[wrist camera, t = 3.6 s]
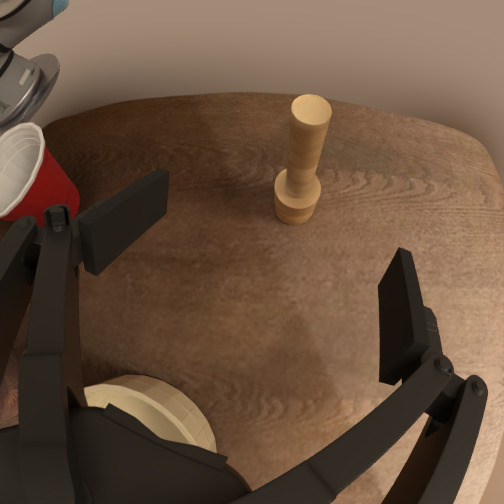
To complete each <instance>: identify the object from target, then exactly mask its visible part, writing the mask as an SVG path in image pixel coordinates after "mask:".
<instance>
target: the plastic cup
mask: <svg viewBox="0 0 504 504" xmlns="http://www.w3.org/2000/svg"><path fill="white" fill-rule="evenodd" d="M55 204H65V205H67V206H69V208H70V215H71V219H73V218H74V217H75V215H76V214H77V212H78V208H79V205H80V195H79V192H78V190H77V188H76V186H75V185H74V184H73V183H72V181H71V180H70V179H69V178H68V177H67V174H66V173H65V172H64V171H63V169H62V168H61V167H60V165H59V164H58V163H57V162H56V160H55V159H54V158H53V156H52V155H51V154H50V152H49V151H48V148H47V147H46V145H45V141H44V137H43V134H42V130H41V128H40V127H38V126H37V125H35V124H34V123H32V122H30V123H21V124H18V125H16V126H15V127H13V128H11V129H9V130H8V131H6V132H5V133H4V134H3V135H2V136H1V137H0V220H8V221H16V220H17V219H19V218H20V217H22V216H33V217H35V218H36V222H37V226H45V222H44V216H43V212H44V210H45V209H46V208H48V207H49V206H52V205H55Z"/></svg>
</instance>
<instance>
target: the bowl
mask: <svg viewBox="0 0 504 504" xmlns="http://www.w3.org/2000/svg"><path fill="white" fill-rule="evenodd" d="M84 392H85V397H86V400H87V403H88V406H96V407H102V408H106V406H107V405H108V403H111V404H113V405H114V406H116V407H118V408H120V409H121V410H123V411H125V412H127V413H129V414H131V415H132V416H134V417H136V418H137V419H138V420H139V421H140V422H142V423H143V424H144V425H145V426H146V427H148V428H149V429H150V430H151V431H152V432H154V433H155V434H156V435H157V436H159V437H160V438H162V439H165V440H170V441H175V442H180V443H185V444H191V445H197V446H199V447H202V448H204V449H207V450H209V451H212V452H215V453H217V451H216V443H215V438H214V435H213V432H212V430H211V428H210V425H209V423H208V421H207V419H206V418H205V417H204V415H203V414H202V413H201V411H200V410H199V408H198V407H197V406H196V404H195V403H193V402H192V401H191V400H190V399H189V398H188V397H187V396H186V395H184V394H183V393H182V392H181V391H180V390H178V389H176V388H174V387H172V386H171V385H169V384H167V383H165V382H164V381H161V380H158V379H155V378H151V377H148V376H144V375H123V376H119V377H114V378H111V379H108V380H105V381H102V382H99V383H97V384H94V385H91V386H88V387H85V388H84Z"/></svg>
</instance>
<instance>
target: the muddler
mask: <svg viewBox="0 0 504 504" xmlns="http://www.w3.org/2000/svg"><path fill="white" fill-rule="evenodd" d="M331 114H332V110H331V107H330V105H329V103H328V102H327V101H326V100H325V99H323V98H321V97H319V96H317V95H311V94H307V95H302V96H299V97H298V98H296V99H295V100H294V101H293V103H292V107H291V120H290V133H289V146H288V158H287V169H285V170H283V171H282V172H281V173H280V174H279V175H278V176H277V178H276V181H275V186H274V208H275V212H276V215H277V216H278V217H279V219H280V220H281V221H283V222H284V223H286V224H289V225H300V224H303V223H305V222H306V221H308V220H309V219H310V217H311V216H312V214H313V211H314V209H315V206H316V204H317V201H318V198H319V196H320V192H321V185H320V182H319V179H318V178H317V176H316V175H315V172H316V169H317V165H318V162H319V158H320V155H321V151H322V147H323V144H324V140H325V136H326V133H327V129H328V125H329V122H330V118H331Z"/></svg>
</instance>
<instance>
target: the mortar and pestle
mask: <svg viewBox="0 0 504 504" xmlns="http://www.w3.org/2000/svg"><path fill="white" fill-rule="evenodd" d="M26 351H27V349H25V350H24V351H23V352H22V353H21V354H19V353H18V352H17V351H16V350H15V349H12V351H11V354H10V357H9V360H8V363H7V367H6V370H5V374H4V377H3V381H2V385H1V388H0V422H2V421H6V420H8V419H11V418H13V417H15V416H17V415H18V370H19V359H20V357H21V355H26Z"/></svg>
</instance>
